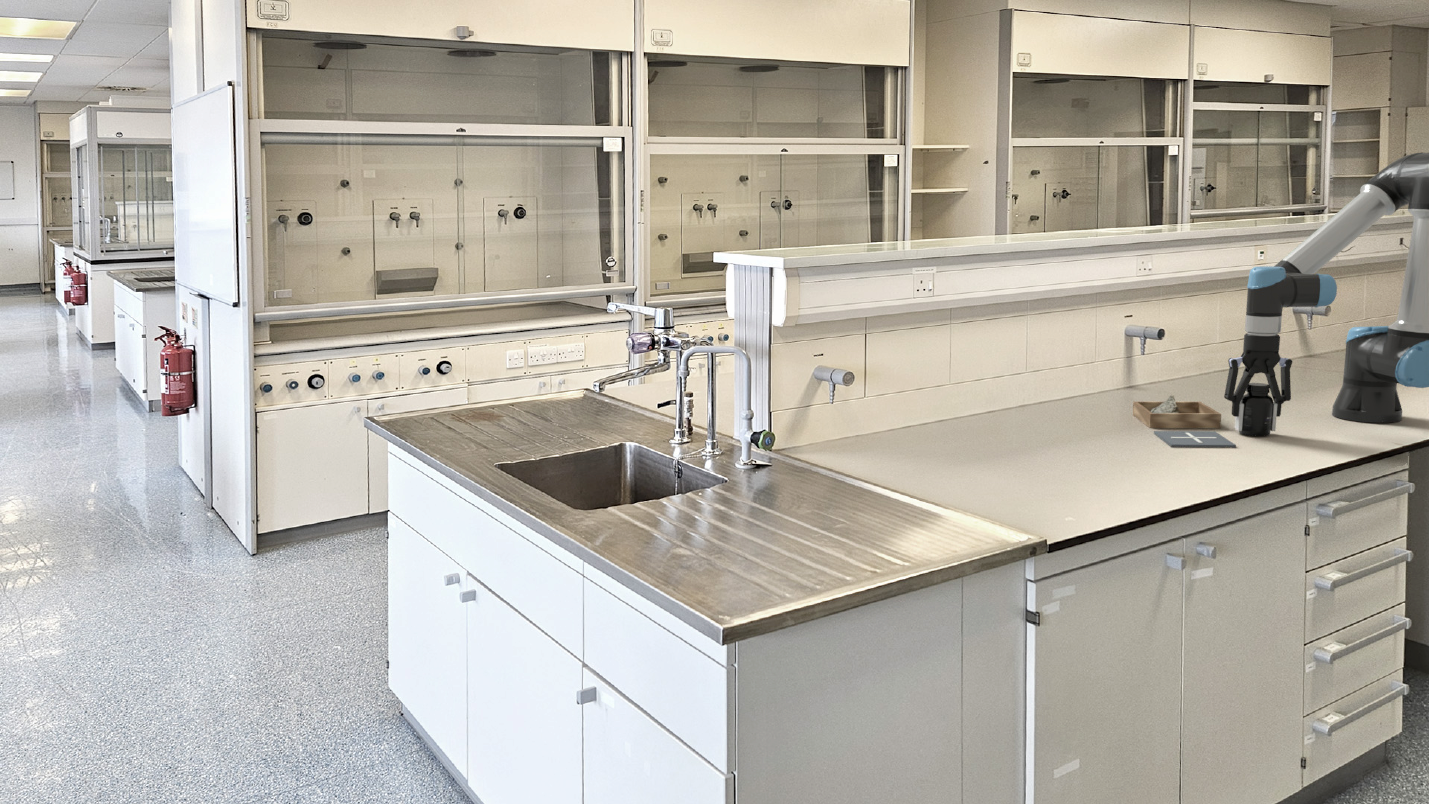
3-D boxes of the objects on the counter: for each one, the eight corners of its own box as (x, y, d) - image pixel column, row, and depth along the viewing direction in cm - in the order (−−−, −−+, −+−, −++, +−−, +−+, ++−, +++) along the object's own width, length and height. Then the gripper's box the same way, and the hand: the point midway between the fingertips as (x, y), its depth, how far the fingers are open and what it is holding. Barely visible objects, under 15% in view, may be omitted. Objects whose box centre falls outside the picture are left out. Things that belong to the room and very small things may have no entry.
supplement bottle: (1274, 437, 256) (1278, 387, 254) (1242, 436, 258) (1246, 386, 255) (1265, 431, 263) (1269, 381, 261) (1235, 430, 264) (1238, 381, 262)
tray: (1199, 415, 282) (1200, 401, 281) (1220, 428, 267) (1221, 414, 266) (1132, 414, 284) (1133, 401, 283) (1149, 427, 269) (1150, 413, 268)
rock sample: (1134, 400, 283) (1163, 381, 278) (1153, 417, 285) (1182, 398, 280) (1140, 425, 275) (1170, 405, 270) (1160, 442, 277) (1190, 423, 272)
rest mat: (1214, 433, 261) (1215, 430, 261) (1235, 447, 248) (1236, 444, 247) (1153, 433, 263) (1153, 430, 263) (1171, 447, 249) (1171, 444, 249)
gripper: (1300, 331, 258) (1292, 426, 263) (1212, 331, 260) (1206, 426, 265) (1313, 335, 251) (1305, 433, 255) (1223, 335, 253) (1216, 433, 257)
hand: (1254, 429), depth 260 cm, fingers closed on supplement bottle, 7 cm apart
